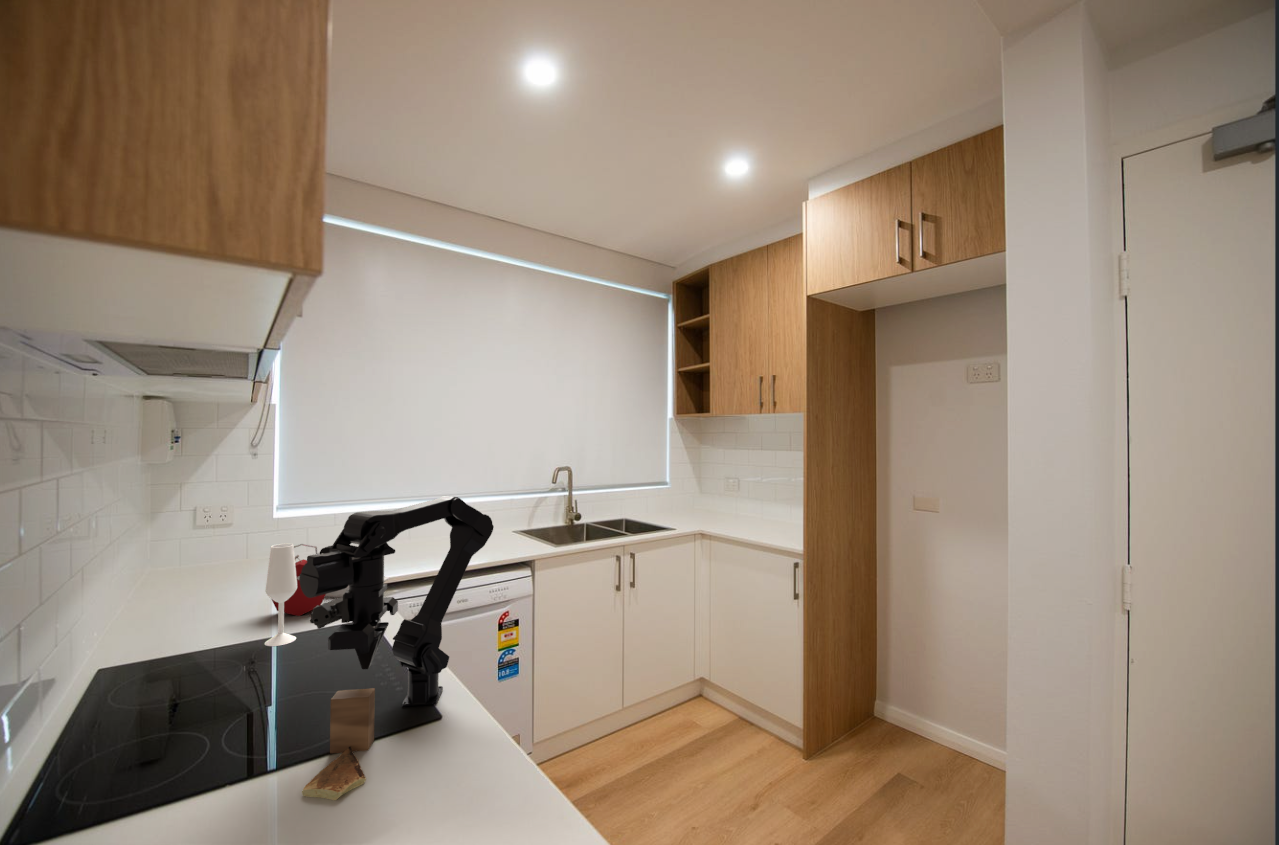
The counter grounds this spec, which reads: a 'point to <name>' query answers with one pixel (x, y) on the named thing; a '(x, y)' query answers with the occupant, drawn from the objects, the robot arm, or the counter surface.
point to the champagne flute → (281, 586)
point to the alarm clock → (300, 594)
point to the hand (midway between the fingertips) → (365, 668)
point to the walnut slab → (352, 720)
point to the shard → (336, 778)
